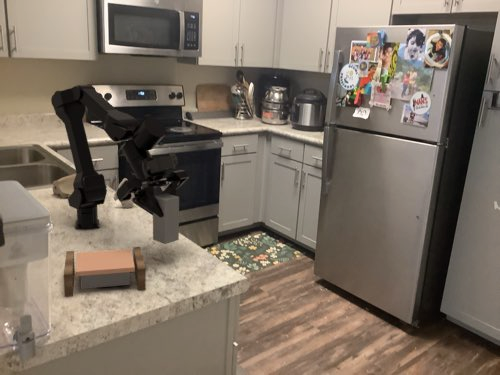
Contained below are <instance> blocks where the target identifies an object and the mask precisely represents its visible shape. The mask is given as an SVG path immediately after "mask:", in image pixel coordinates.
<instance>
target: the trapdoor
mask: <svg viewBox="0 0 500 375" xmlns="http://www.w3.org/2000/svg"><path fill="white" fill-rule="evenodd" d="M132 251H133V250H132V248H129V249H110V250H109V249H108V250H96V251H95V250H94V251H80V252H79V251H77V252H76V256H75V257H76V260H75V274H74V277H80V289H81V290H83V289H93V288H95V289H96V288H105V287H117V286H118V287H119V286H128V285H131V273H133V272H134V273H135V266H134V261H133V252H132Z"/></svg>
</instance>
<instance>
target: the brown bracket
mask: <svg viewBox="0 0 500 375" xmlns="http://www.w3.org/2000/svg"><path fill="white" fill-rule="evenodd" d="M132 251H133V252H132V256H133V261H134V266H135V272H134V276H135V281H136V282H135V283H136V287H137V290H138V291H144V290H146V289H147V288H146V286H147V284H146V283H147V282H146V276H147V275H146V272H147V270H146V265H145V261H144V256H143V253H142V249H141V246H134V247H133V248H132ZM75 269H76V264H75V250H69V251H68V250H67V251H66V252H65V261H64V269H63V289H64V291H63V292H64V293H63V294H64V298H68V297H73V296H74V285H75Z"/></svg>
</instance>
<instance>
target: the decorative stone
mask: <svg viewBox="0 0 500 375" xmlns="http://www.w3.org/2000/svg"><path fill="white" fill-rule="evenodd" d="M75 177H76V173H73V174H70V175H66V176H64V177H61V178H59V179H57V180H54V181H53V182H52V186H53V187H52V193H53V194H55V195H57V196H59V194H60V196H61V198H62V199H65V198H69V197H70V195H71V194H72V193H73V191H74V187H73V183H74V180H75Z"/></svg>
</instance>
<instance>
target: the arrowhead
mask: <svg viewBox="0 0 500 375" xmlns="http://www.w3.org/2000/svg"><path fill="white" fill-rule="evenodd" d="M125 180H128V179H127V178H126V177H124V178H123V179H122V180H121V182H120V183H119V185H118V186H117V189H116V191H115V193H114V196H113V200H114V201H119V199H118V197H117V190H118V189H119V187H120V186H121V185H122V184H123V183H124V181H125ZM131 195H132V196H131V199H130V200H127V201H123V202H120V205H121V206H122V207H124V208H125V209H131V207H134V204H135V202H134V201H133V199H134V198H135V196H134V193H131Z"/></svg>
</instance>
